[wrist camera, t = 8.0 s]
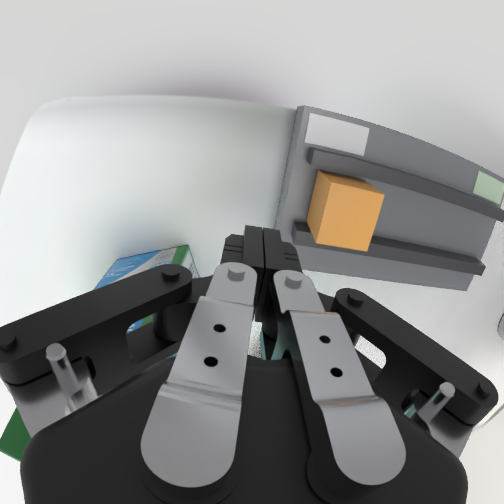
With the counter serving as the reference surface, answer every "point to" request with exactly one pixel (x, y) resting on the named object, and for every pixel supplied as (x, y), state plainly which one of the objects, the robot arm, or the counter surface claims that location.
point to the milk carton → (16, 430)
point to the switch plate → (391, 202)
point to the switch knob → (343, 211)
